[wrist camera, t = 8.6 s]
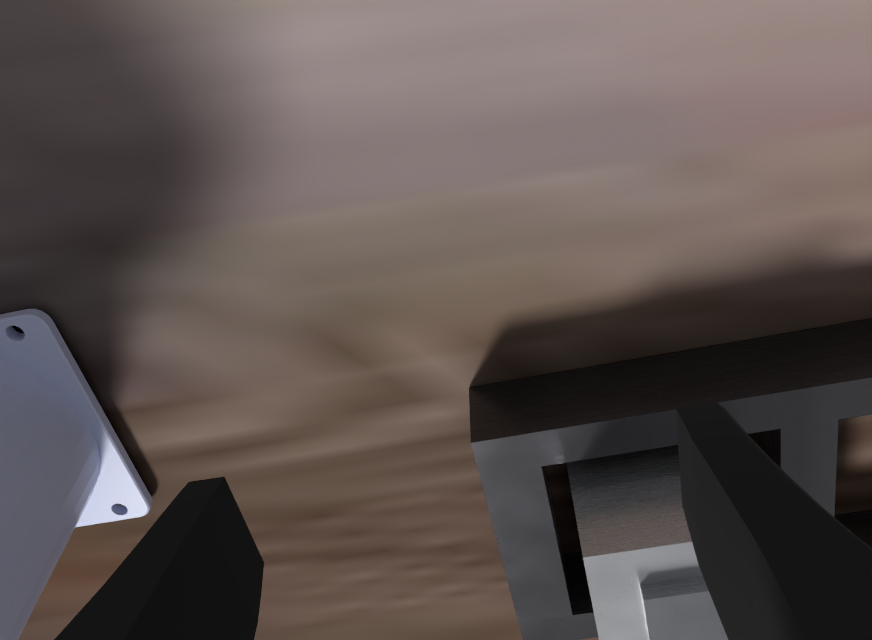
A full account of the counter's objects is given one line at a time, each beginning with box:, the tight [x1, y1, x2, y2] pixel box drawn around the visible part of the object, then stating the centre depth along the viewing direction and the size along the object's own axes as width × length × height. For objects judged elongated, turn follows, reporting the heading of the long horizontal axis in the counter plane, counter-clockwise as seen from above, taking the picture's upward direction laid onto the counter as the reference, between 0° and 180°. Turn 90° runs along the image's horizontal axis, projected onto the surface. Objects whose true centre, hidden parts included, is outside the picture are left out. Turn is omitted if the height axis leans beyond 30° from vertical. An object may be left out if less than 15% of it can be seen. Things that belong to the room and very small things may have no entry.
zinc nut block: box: [566, 445, 728, 640], centre depth 24 cm, size 5×5×6 cm
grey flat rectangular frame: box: [469, 319, 872, 640], centre depth 25 cm, size 18×9×2 cm, turn 103°
